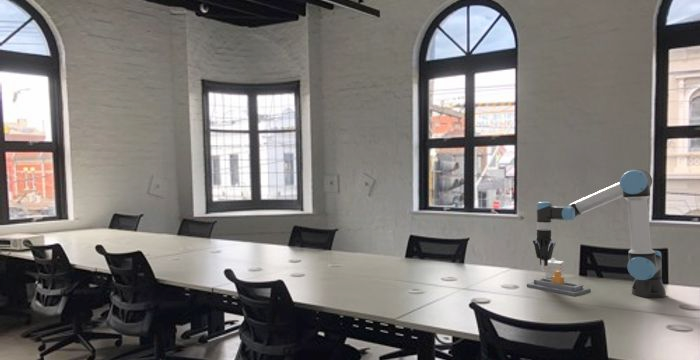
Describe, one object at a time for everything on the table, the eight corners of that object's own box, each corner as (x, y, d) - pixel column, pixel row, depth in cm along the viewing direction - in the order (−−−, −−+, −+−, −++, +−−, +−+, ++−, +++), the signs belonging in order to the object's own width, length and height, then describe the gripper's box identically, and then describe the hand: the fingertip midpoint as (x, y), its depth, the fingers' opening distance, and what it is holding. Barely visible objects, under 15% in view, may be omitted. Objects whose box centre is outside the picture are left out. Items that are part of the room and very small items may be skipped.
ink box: (560, 283, 282) (560, 260, 282) (545, 282, 287) (544, 259, 287) (564, 281, 289) (564, 258, 289) (549, 279, 294) (549, 256, 294)
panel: (590, 291, 264) (590, 284, 264) (574, 296, 254) (574, 289, 254) (543, 282, 286) (543, 276, 286) (526, 286, 277) (526, 280, 277)
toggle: (564, 285, 270) (564, 271, 269) (560, 287, 267) (559, 272, 267) (555, 284, 274) (555, 269, 273) (551, 285, 271) (551, 270, 271)
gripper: (558, 230, 273) (558, 272, 274) (537, 227, 284) (537, 268, 284) (550, 231, 269) (550, 274, 270) (529, 228, 279) (529, 270, 280)
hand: (543, 271), depth 277 cm, fingers closed
